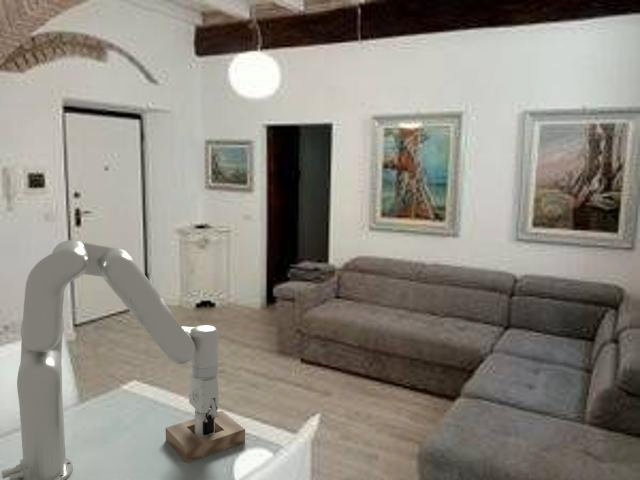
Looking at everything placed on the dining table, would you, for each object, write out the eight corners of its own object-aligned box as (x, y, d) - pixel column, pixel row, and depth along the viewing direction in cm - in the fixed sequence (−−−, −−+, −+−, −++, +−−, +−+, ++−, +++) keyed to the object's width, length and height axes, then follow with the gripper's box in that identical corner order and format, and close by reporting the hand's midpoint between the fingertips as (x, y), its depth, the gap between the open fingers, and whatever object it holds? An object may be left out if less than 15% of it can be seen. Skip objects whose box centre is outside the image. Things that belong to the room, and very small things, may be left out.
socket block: (186, 462, 141) (186, 449, 140) (165, 440, 151) (165, 427, 151) (245, 442, 152) (245, 429, 151) (221, 422, 163) (221, 410, 162)
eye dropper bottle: (210, 443, 149) (210, 403, 147) (192, 441, 150) (192, 401, 148) (216, 436, 153) (216, 397, 151) (198, 433, 154) (198, 395, 152)
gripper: (179, 363, 152) (180, 422, 155) (205, 382, 140) (206, 447, 142) (203, 358, 157) (203, 415, 160) (230, 376, 144) (230, 438, 147)
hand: (204, 429), depth 151 cm, fingers closed on eye dropper bottle, 3 cm apart
